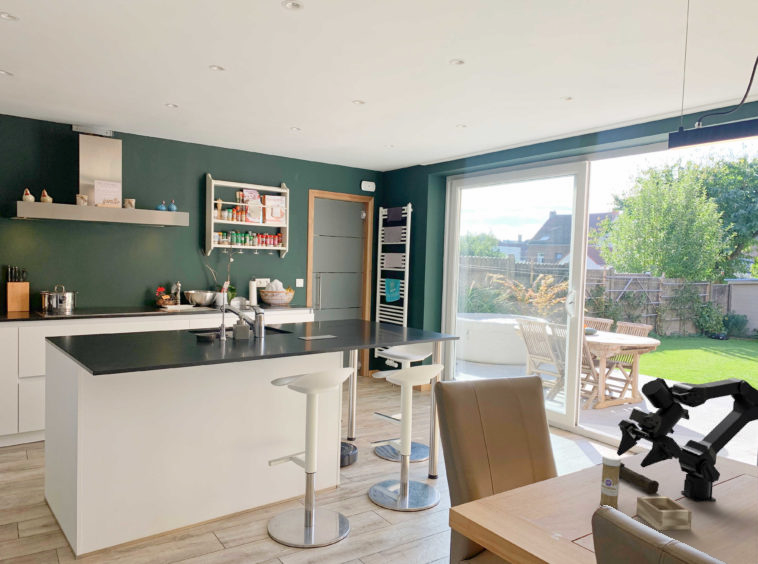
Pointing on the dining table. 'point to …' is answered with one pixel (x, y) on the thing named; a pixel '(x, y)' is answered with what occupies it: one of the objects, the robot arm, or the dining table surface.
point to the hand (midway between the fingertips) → (629, 460)
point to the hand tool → (638, 479)
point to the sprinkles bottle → (610, 480)
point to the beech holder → (664, 513)
